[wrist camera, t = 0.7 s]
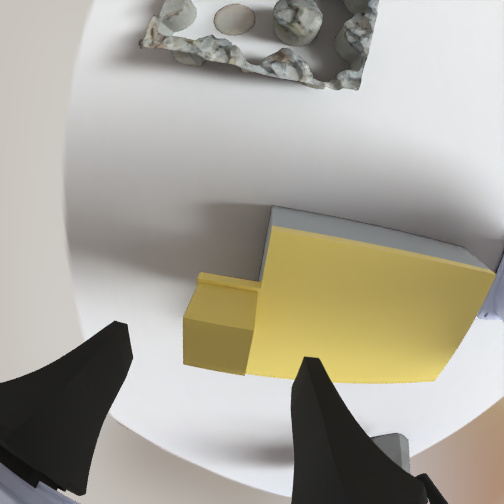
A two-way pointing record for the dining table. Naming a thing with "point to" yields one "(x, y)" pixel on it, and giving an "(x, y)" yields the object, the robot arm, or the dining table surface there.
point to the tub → (365, 235)
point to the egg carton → (286, 29)
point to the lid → (335, 312)
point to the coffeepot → (406, 462)
